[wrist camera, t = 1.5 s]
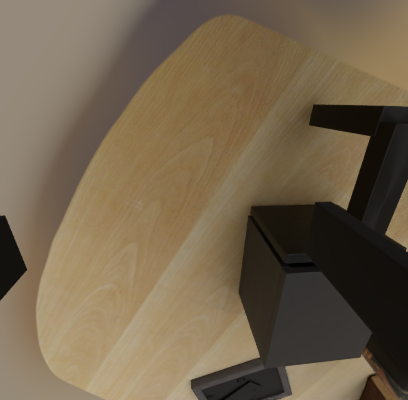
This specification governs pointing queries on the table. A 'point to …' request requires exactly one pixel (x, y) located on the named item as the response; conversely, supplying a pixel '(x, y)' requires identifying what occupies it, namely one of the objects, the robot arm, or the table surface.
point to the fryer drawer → (365, 185)
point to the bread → (376, 390)
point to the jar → (386, 368)
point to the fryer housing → (295, 309)
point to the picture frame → (243, 383)
